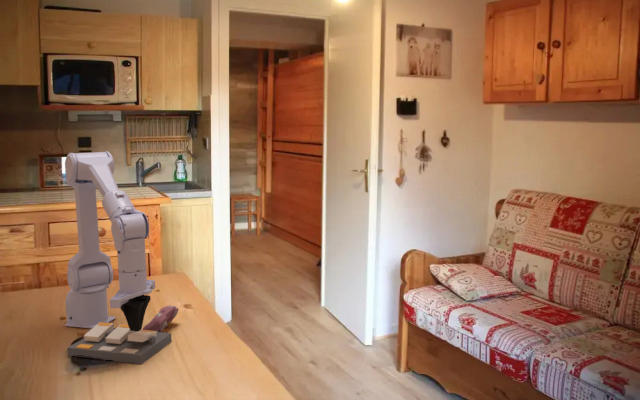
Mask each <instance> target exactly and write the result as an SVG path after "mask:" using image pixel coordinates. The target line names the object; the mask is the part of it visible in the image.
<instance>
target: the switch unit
mask: <svg viewBox="0 0 640 400" xmlns="http://www.w3.org/2000/svg"><path fill="white" fill-rule="evenodd" d="M116 328H117V327H114V329H112V330H111V331H110V332H107V333H106V334H105V335H106V336H105V337H104V338H102V339H101V340H100V341H99V342H95V341H85V340H84V337H83V338H82V339H80V340H78V341H76V342H75V343H73V344H71V345H69V346H68V347H66V348H67V350H66V351H67V357H68V358H69V357H70V358H73V357H72V356H74V355H84V356H92V357H101V358H105V359H110V360H113V361H112V362H114V363H115V362H116V363H125V364H132V365H133V364H135V365H142V364H144V363H145V362H146V361H148V360H149V359H151V358H152V357H154V356H155V355H156V354H157V353H158V352H160V351H162V349H164V348H165V347H166V346H168V345H169V344H170V343H171V342H172V333H171V332H165V331H164V332H163V331H162V332H158V331H157V337H155V336H151V337H150V338H149V340H147V341H144V342H136V341H127V340H128V336H127V338H126V339H125V340H124V341H123V342H122V343H121V344H115V343H106V339H105V338H106V337H107V336H108V335H109V334H110V333H111V332H112V331H113V330H115V329H116ZM90 330H91V329H89V330H88V331H86V333H88V332H89V331H90ZM141 330H142V329H141ZM141 330H139V331H141ZM136 332H138V331H134V332H133V333H136ZM133 333H132V334H133ZM129 335H130V334H129Z"/></svg>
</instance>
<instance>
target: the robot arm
mask: <svg viewBox="0 0 640 400" xmlns="http://www.w3.org/2000/svg"><path fill="white" fill-rule="evenodd" d="M64 169H65V180H66V181H65V182H66V185H67V186H69V187H71V188H73V190H74V199H75V211H76V214H75V215H76V225H77V226H76V227H77V241H78V251H77V252H76V253H75V254H74V255H73V256H71V258H70V259H69V260H68V262H67V271H66V278H67V283H68V286H69V288H70V290H69V291H68V292H67V294H66V297H65V311H66V312H65V313H66V323H65V324H64V326H65V327H73V328H83V329H92V328H93V327H95V326H96V325H97V324H98V323H99V322H104V323H112V321H114V320H115V319H116V316H111V315H109V311H108V310H109V308H110V309H120V310H121V312H122V313H123V315H124V317H125V320H126V322H127V325H128V326H129V329H130V331H139V330H142V329H143V323H144V317H145V314H146V311H147V307H148V306H149V303H150V301H151V296H150V295H149V294H151V293H152V292H153V290H155V289H156V280H155V279H154V280H153V279H147V278H148V277H147V257H146V254H147V253H146V239H147V238H148V237H149V233H150V223H149V220H148V217H147V215H146V213H145V212H144V211H140V210H139V209H138V210H137V209H136V208H135V206H134V204H133V203H132V201H131V199H130V197H129V196H128V194H127V192H125V191H124V190H120V189H119V187H118V184H117V182H116V179H115V177H114V172H115V160H114V157H113V155H112V153H110V151H107V150H105V151H97V152H77V153H75V152H68V154H67V156H66V158H65V162H64ZM96 190H98V192H99V193H100V194H101V196H102V199H101V200H102V201H101V205H102V208H103V209H104V211H105V213H106V215H107V217H108V219H109V221H110V222H111V227H110V230H111V235H112V238H113V244H114V249H115V250H117V251H116V252H117V267H118V268H117V269H118V284H119V285H118V286H119V287H118V288H119V289H118V290H117V292H116V293H115V294H114V295H113V296H112V297H111V298H109V304H108V291H107V289H109V288H110V286H109V285H111V284H112V282H113V281H114V269H113V267H112V261H111V258H110V256H109V255H108V254H107V253H105V252H103V251H102V250H101V249H100V248H101V247H100V234H99V233H100V232H99V221H98V205H97V204H98V203H97V202H98V201H97V192H96ZM108 305H109V306H108ZM108 307H109V308H108Z"/></svg>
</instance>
